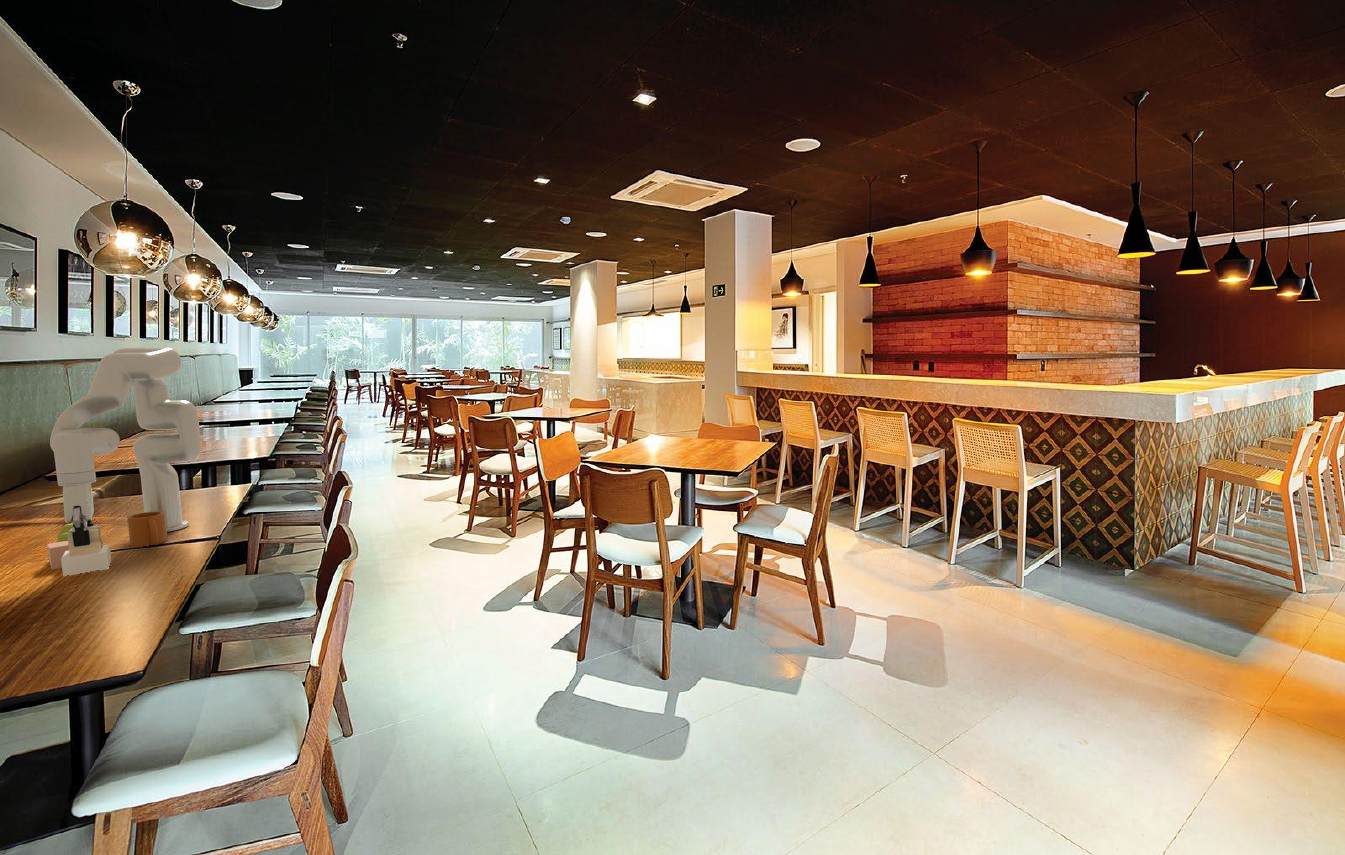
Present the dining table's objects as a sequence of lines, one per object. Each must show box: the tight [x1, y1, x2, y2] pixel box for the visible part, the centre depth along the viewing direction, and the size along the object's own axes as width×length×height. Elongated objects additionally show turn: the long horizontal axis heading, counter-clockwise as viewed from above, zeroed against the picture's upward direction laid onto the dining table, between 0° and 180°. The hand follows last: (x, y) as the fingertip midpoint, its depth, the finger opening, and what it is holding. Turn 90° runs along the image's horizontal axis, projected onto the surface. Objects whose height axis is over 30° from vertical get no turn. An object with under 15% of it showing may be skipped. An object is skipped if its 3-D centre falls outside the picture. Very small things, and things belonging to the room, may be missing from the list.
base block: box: [61, 544, 112, 577], centre depth 173 cm, size 9×9×5 cm
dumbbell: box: [55, 522, 72, 543], centre depth 188 cm, size 16×8×7 cm, turn 40°
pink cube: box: [46, 541, 69, 570], centre depth 176 cm, size 6×6×6 cm
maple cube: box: [67, 525, 104, 556], centre depth 173 cm, size 6×6×6 cm
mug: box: [126, 511, 168, 548], centre depth 194 cm, size 9×12×9 cm
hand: (84, 541), depth 172 cm, fingers open, 7 cm apart
